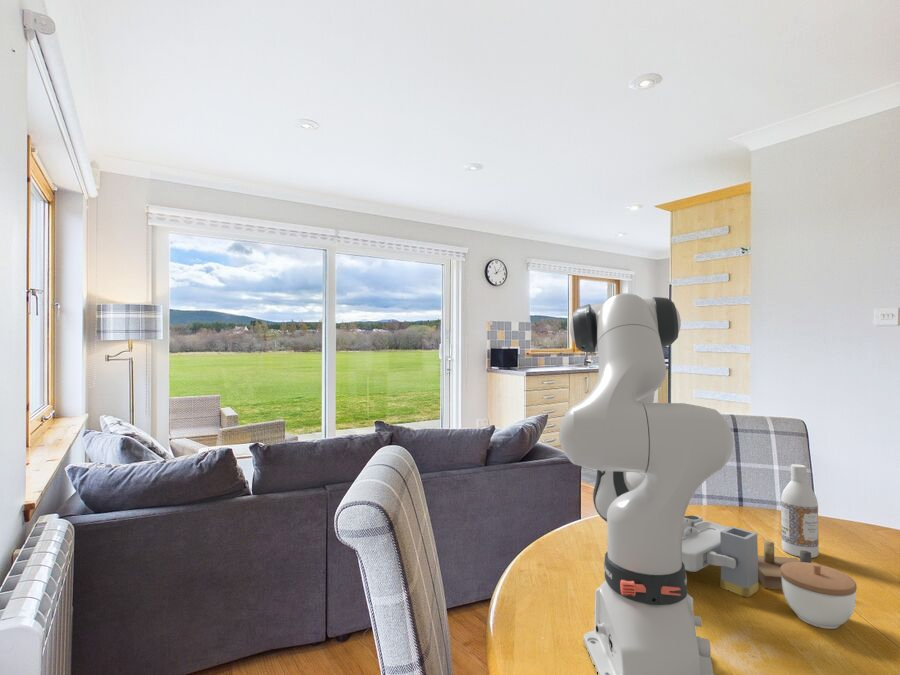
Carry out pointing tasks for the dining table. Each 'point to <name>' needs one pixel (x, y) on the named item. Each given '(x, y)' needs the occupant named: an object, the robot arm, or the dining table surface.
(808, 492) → the bath foam
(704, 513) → the dining table surface
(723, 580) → the sleeve
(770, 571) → the pin block
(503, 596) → the dining table surface
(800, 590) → the lidded jar
